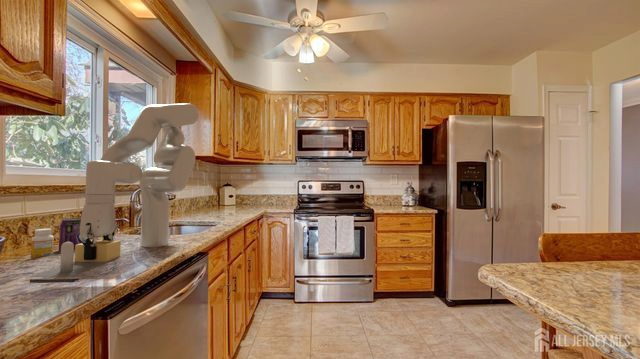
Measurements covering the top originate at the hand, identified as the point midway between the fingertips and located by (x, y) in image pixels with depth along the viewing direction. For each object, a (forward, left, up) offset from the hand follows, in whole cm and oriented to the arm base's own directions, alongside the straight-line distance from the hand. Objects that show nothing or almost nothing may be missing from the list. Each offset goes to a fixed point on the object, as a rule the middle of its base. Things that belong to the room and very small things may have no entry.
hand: (98, 256), depth 92 cm
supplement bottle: (-6, -21, -3) cm, 22 cm away
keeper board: (+6, 0, -2) cm, 6 cm away
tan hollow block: (0, 0, -1) cm, 1 cm away
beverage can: (-16, -19, -3) cm, 25 cm away
